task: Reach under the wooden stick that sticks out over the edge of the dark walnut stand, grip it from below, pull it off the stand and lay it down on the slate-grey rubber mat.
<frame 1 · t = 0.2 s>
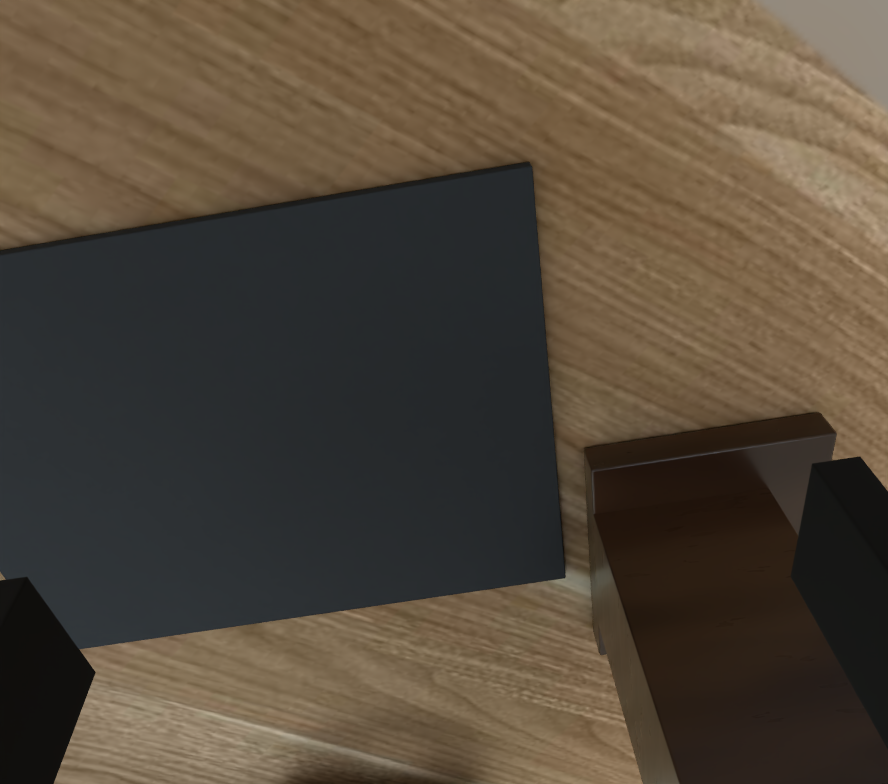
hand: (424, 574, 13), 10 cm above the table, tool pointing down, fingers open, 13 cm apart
stand: (588, 548, 28), on the table
mat: (248, 451, 24), on the table
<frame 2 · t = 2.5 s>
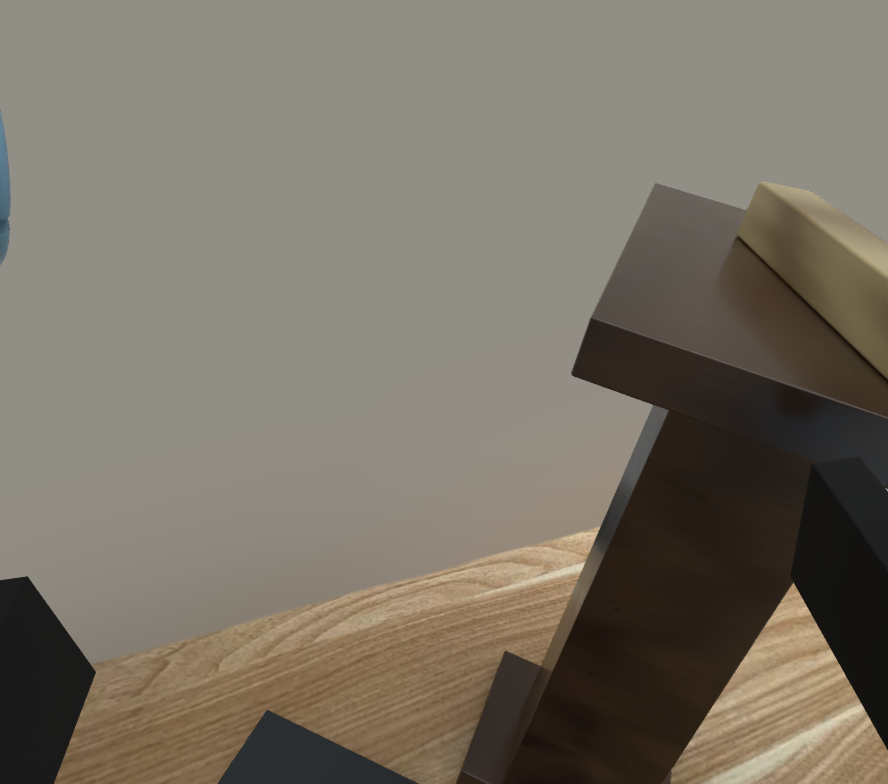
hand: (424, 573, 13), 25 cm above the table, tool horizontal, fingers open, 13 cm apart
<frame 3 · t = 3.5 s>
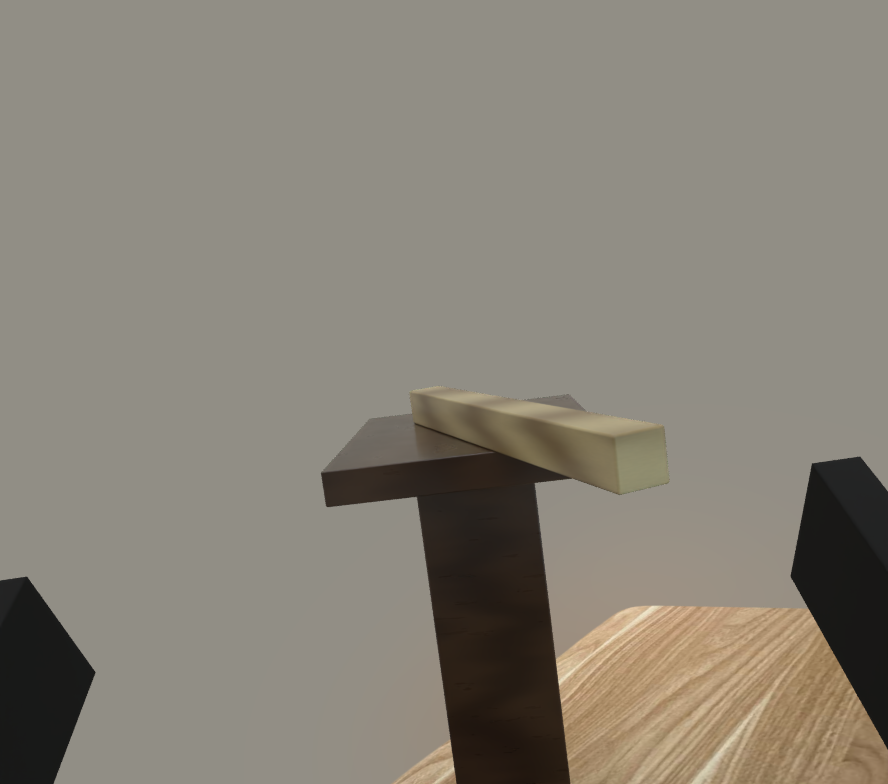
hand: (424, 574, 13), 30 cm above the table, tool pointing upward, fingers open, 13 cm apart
wooden stick: (504, 444, 31), point 28 cm above the table, touching stand
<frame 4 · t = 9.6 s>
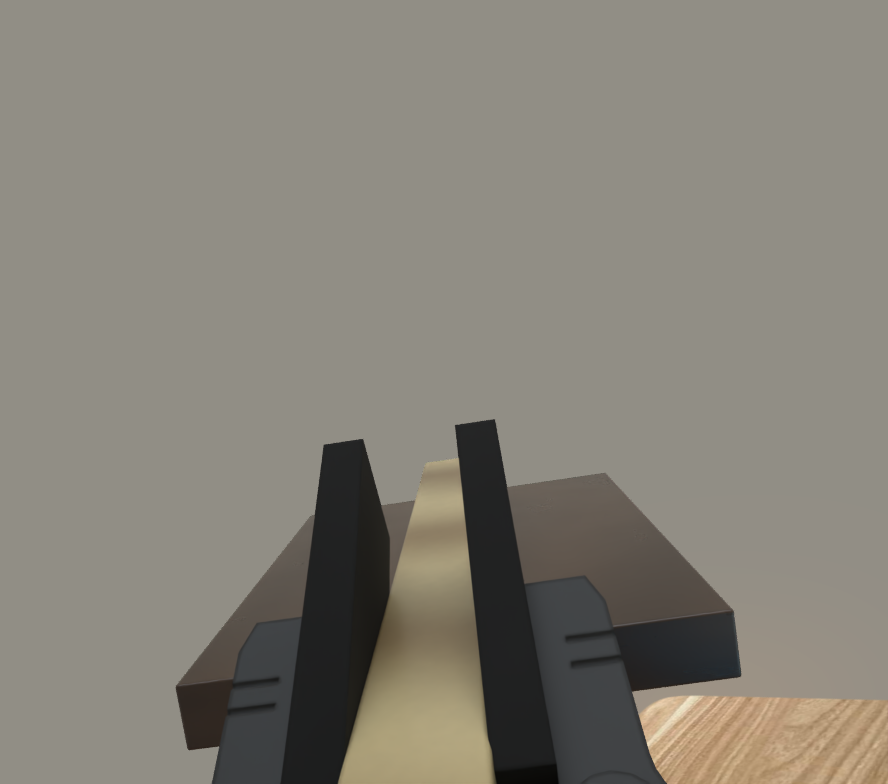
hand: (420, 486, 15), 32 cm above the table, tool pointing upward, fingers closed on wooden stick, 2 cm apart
wooden stick: (450, 609, 18), point 29 cm above the table, touching gripper
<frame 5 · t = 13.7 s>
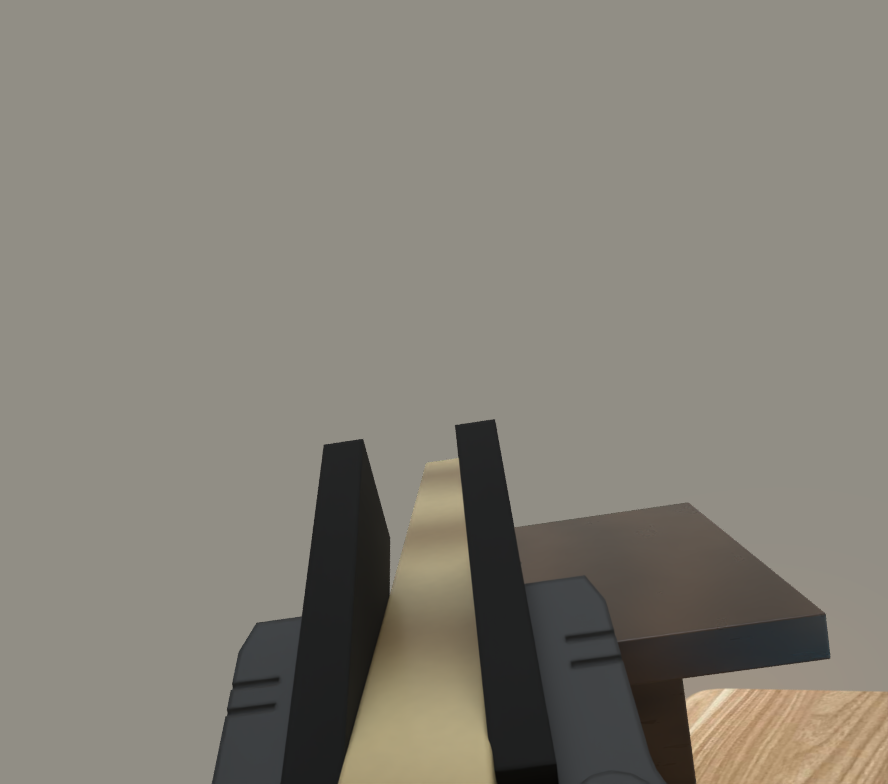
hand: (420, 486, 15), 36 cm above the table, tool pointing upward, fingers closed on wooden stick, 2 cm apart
wooden stick: (451, 609, 18), point 32 cm above the table, touching gripper
when the fingers open (22 cm above the table, at t = 18.2 s): wooden stick drops 18 cm, resting on mat.
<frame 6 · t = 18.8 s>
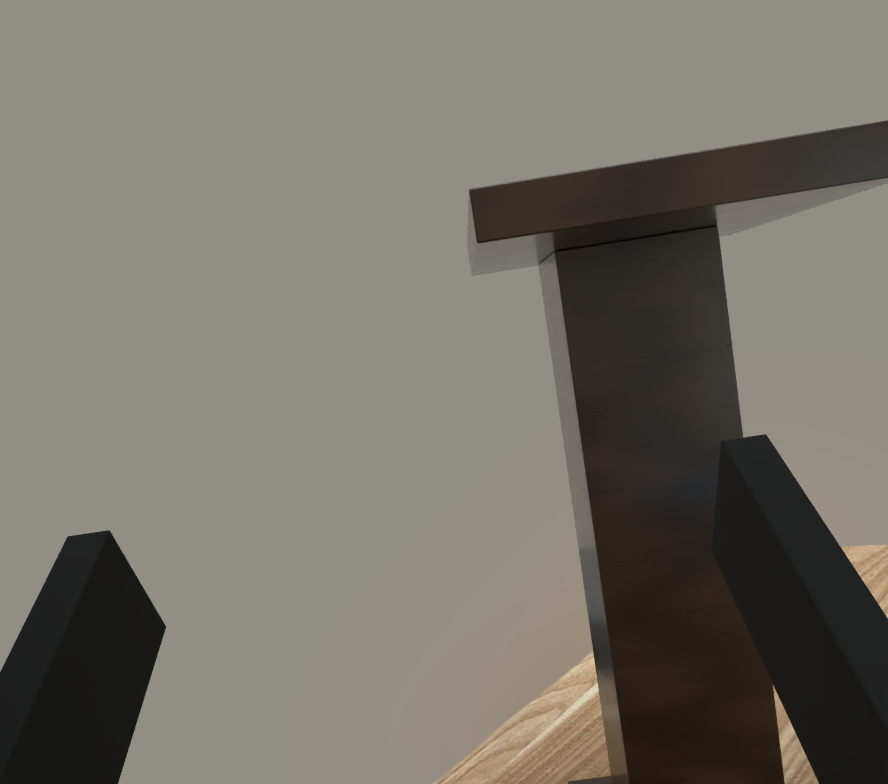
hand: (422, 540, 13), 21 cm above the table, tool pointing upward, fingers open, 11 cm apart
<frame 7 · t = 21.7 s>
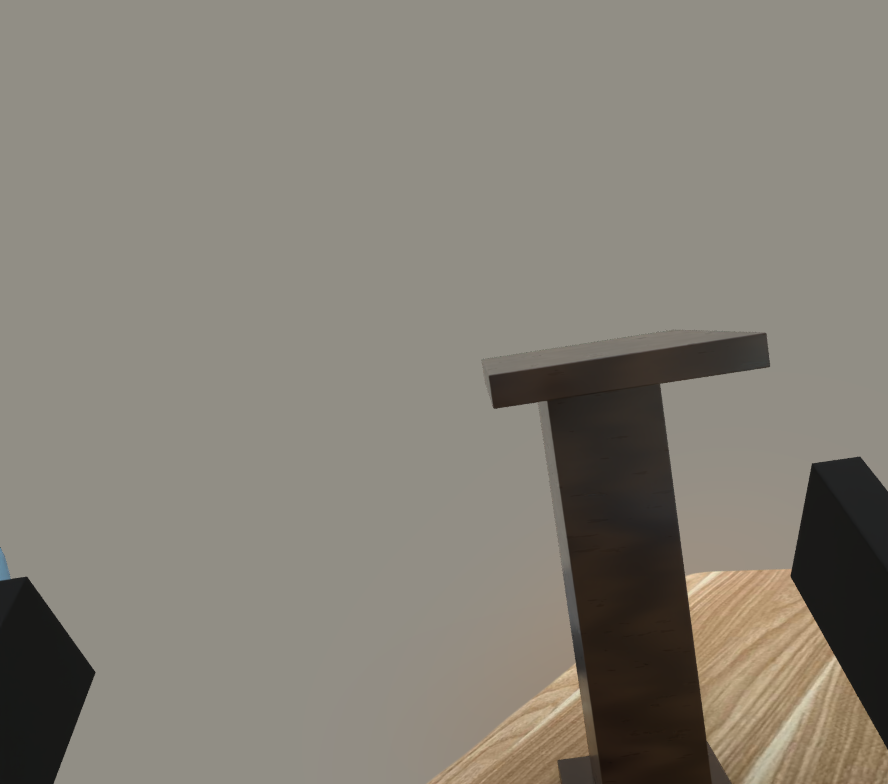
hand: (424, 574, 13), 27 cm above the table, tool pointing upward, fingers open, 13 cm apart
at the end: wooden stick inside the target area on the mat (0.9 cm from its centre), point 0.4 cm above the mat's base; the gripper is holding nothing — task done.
